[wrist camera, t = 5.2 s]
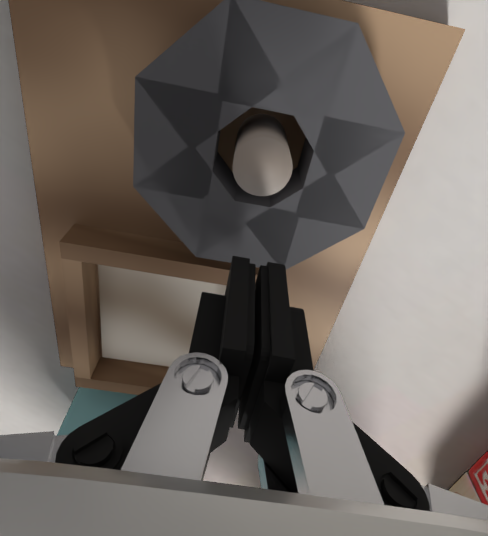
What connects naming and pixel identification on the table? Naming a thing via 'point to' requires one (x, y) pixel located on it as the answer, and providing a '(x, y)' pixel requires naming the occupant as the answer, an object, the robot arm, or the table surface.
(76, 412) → the teal nearly cubic block
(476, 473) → the stack of blocks
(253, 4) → the wheel
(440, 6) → the table surface
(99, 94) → the chassis
